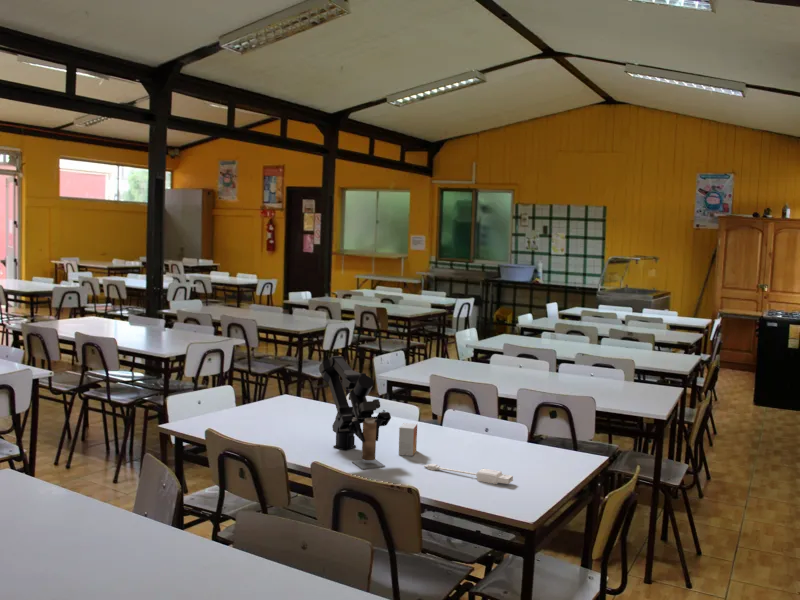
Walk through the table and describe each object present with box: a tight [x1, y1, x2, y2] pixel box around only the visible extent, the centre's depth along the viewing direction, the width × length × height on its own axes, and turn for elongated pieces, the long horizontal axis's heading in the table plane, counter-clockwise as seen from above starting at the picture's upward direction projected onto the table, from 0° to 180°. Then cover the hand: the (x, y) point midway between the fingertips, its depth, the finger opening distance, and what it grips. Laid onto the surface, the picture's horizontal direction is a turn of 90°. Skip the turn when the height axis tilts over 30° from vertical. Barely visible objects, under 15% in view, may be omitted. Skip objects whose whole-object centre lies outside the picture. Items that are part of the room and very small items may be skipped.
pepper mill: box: [361, 418, 377, 460], centre depth 258 cm, size 5×5×14 cm
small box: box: [398, 422, 418, 457], centre depth 275 cm, size 8×6×10 cm
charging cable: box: [423, 463, 514, 485], centre depth 249 cm, size 5×32×3 cm, turn 59°
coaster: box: [351, 458, 386, 470], centre depth 258 cm, size 9×9×1 cm
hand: (370, 441), depth 257 cm, fingers closed on pepper mill, 5 cm apart
